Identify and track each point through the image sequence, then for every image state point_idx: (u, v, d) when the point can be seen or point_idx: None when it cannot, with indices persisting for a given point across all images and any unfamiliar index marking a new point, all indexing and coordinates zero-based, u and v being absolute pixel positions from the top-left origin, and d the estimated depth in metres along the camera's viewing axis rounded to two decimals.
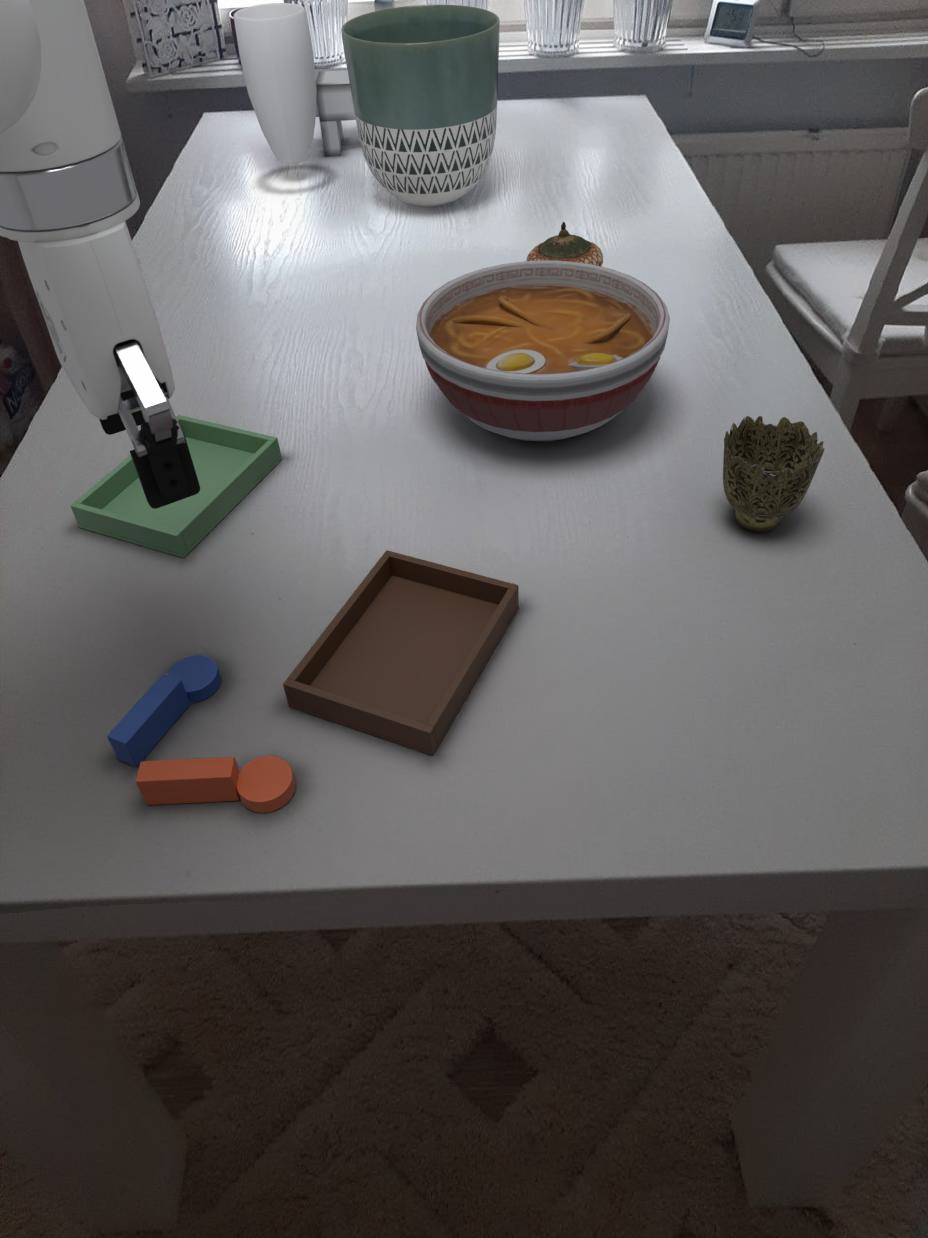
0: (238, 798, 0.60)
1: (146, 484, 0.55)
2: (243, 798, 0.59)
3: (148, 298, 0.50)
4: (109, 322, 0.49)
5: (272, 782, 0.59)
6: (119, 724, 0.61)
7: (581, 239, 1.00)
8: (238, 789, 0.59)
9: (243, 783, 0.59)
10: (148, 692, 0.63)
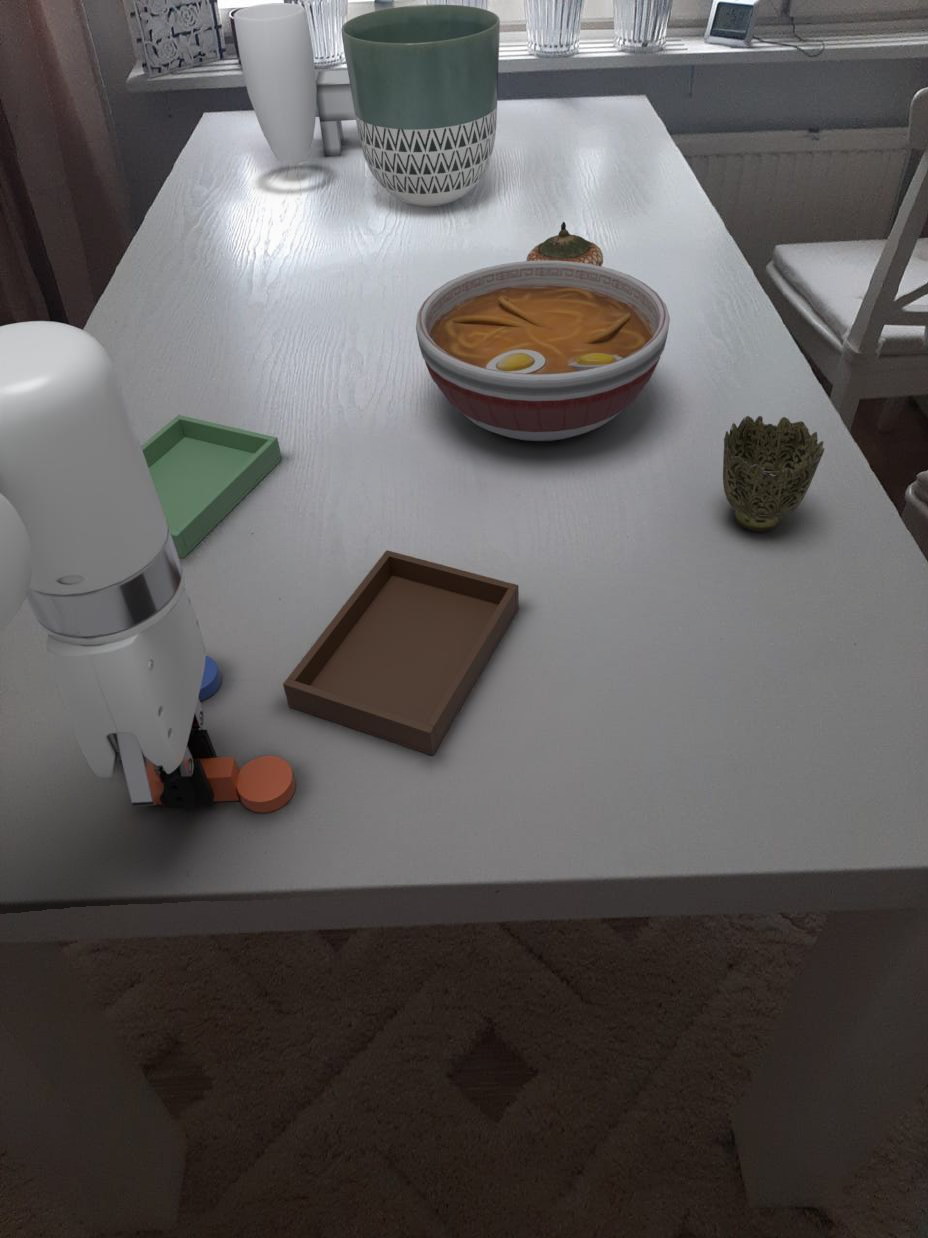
0: (238, 798, 0.60)
1: None
2: (243, 798, 0.59)
3: (149, 702, 0.47)
4: (103, 718, 0.47)
5: (272, 782, 0.59)
6: None
7: (581, 239, 1.00)
8: (238, 789, 0.59)
9: (243, 783, 0.59)
10: None
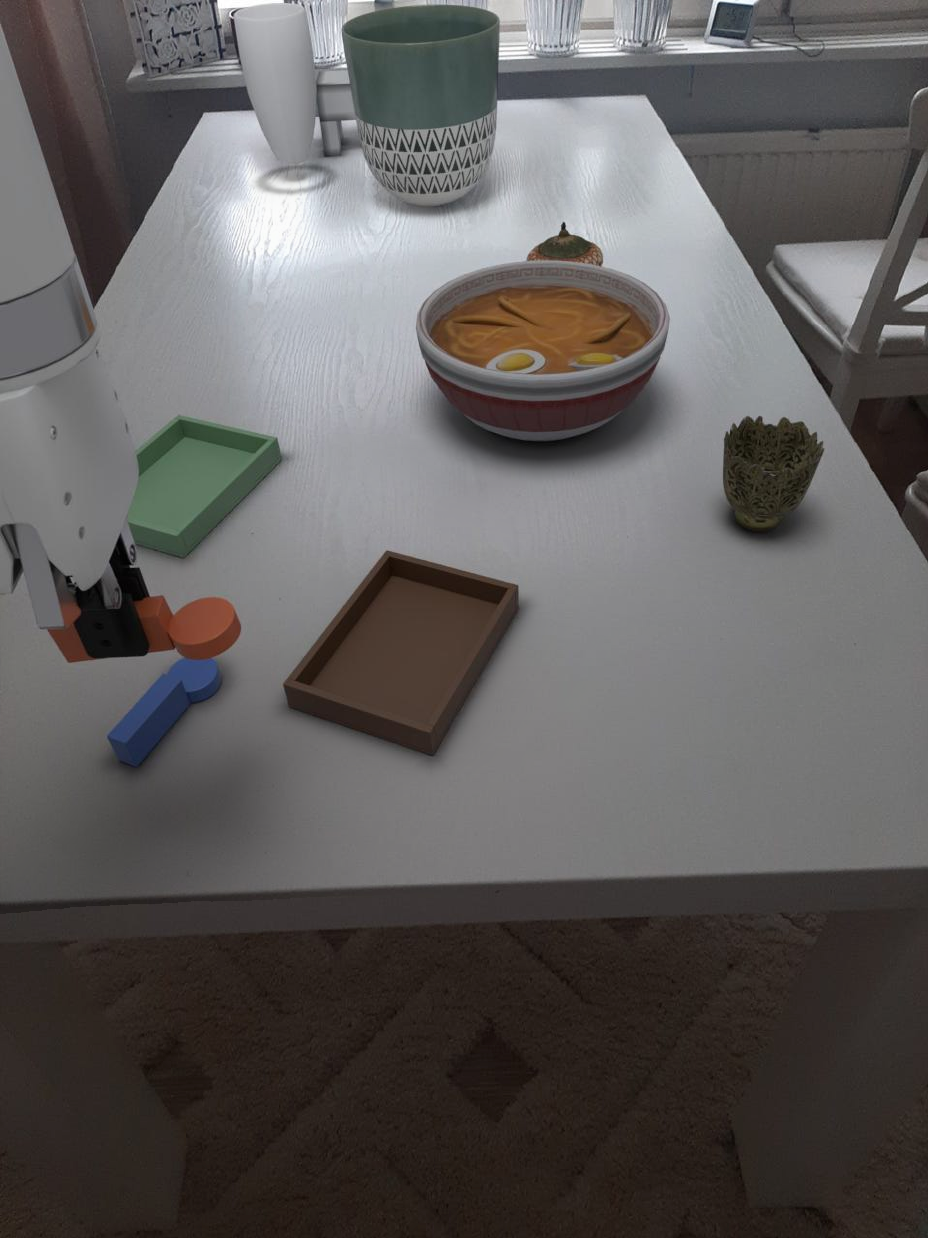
0: (173, 646, 0.50)
1: (82, 634, 0.48)
2: (175, 642, 0.49)
3: (52, 481, 0.38)
4: None
5: (209, 623, 0.49)
6: (119, 724, 0.61)
7: (581, 239, 1.00)
8: (170, 633, 0.49)
9: (176, 627, 0.49)
10: (148, 692, 0.63)
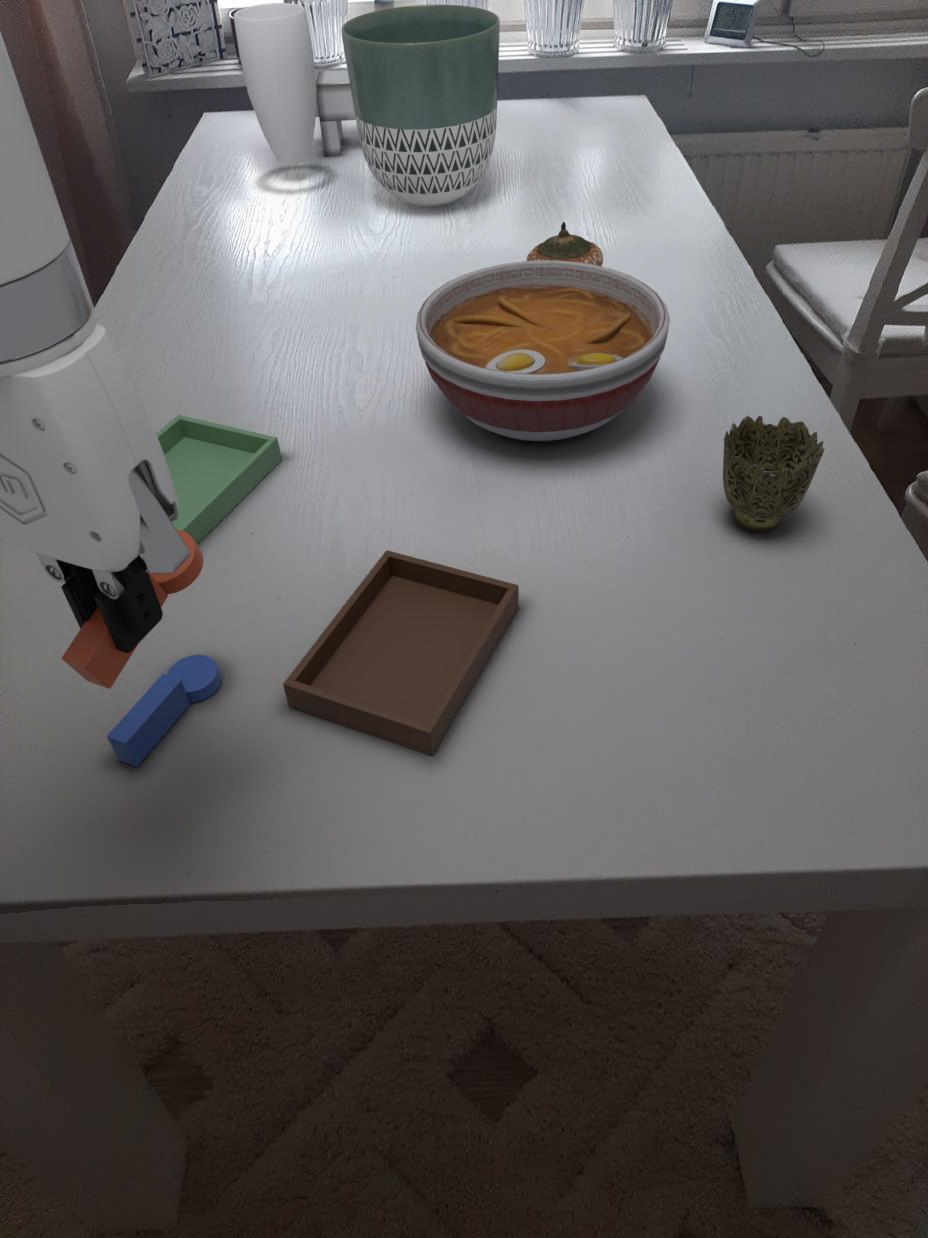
0: (166, 594, 0.51)
1: (118, 628, 0.47)
2: (174, 580, 0.50)
3: (144, 407, 0.40)
4: (121, 447, 0.39)
5: None
6: (119, 724, 0.61)
7: (581, 239, 1.00)
8: (160, 581, 0.50)
9: (156, 575, 0.51)
10: (148, 692, 0.63)
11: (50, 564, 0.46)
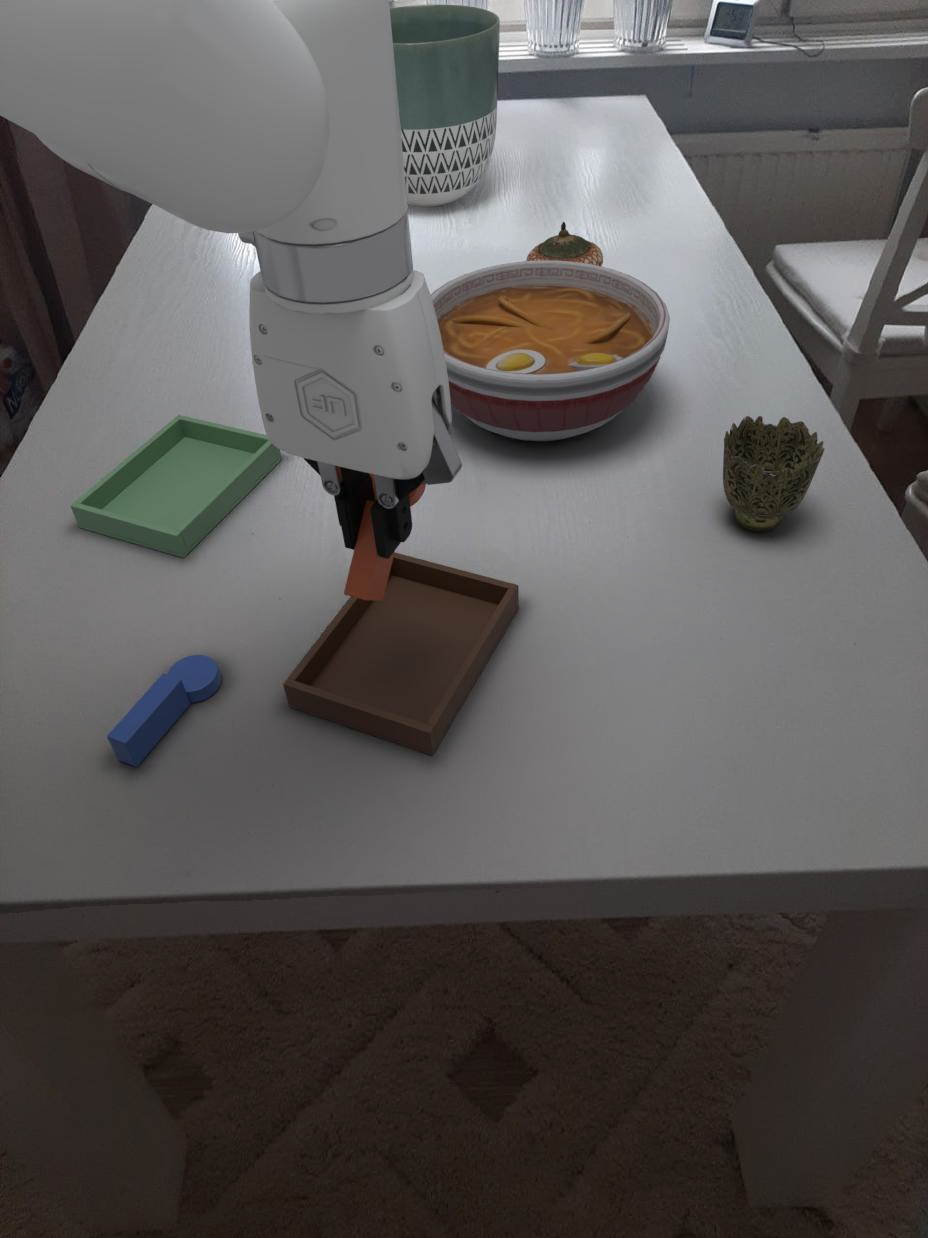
0: None
1: (385, 536, 0.56)
2: None
3: None
4: (430, 372, 0.48)
5: None
6: (119, 724, 0.61)
7: (581, 239, 1.00)
8: None
9: None
10: (148, 692, 0.63)
11: (330, 479, 0.55)
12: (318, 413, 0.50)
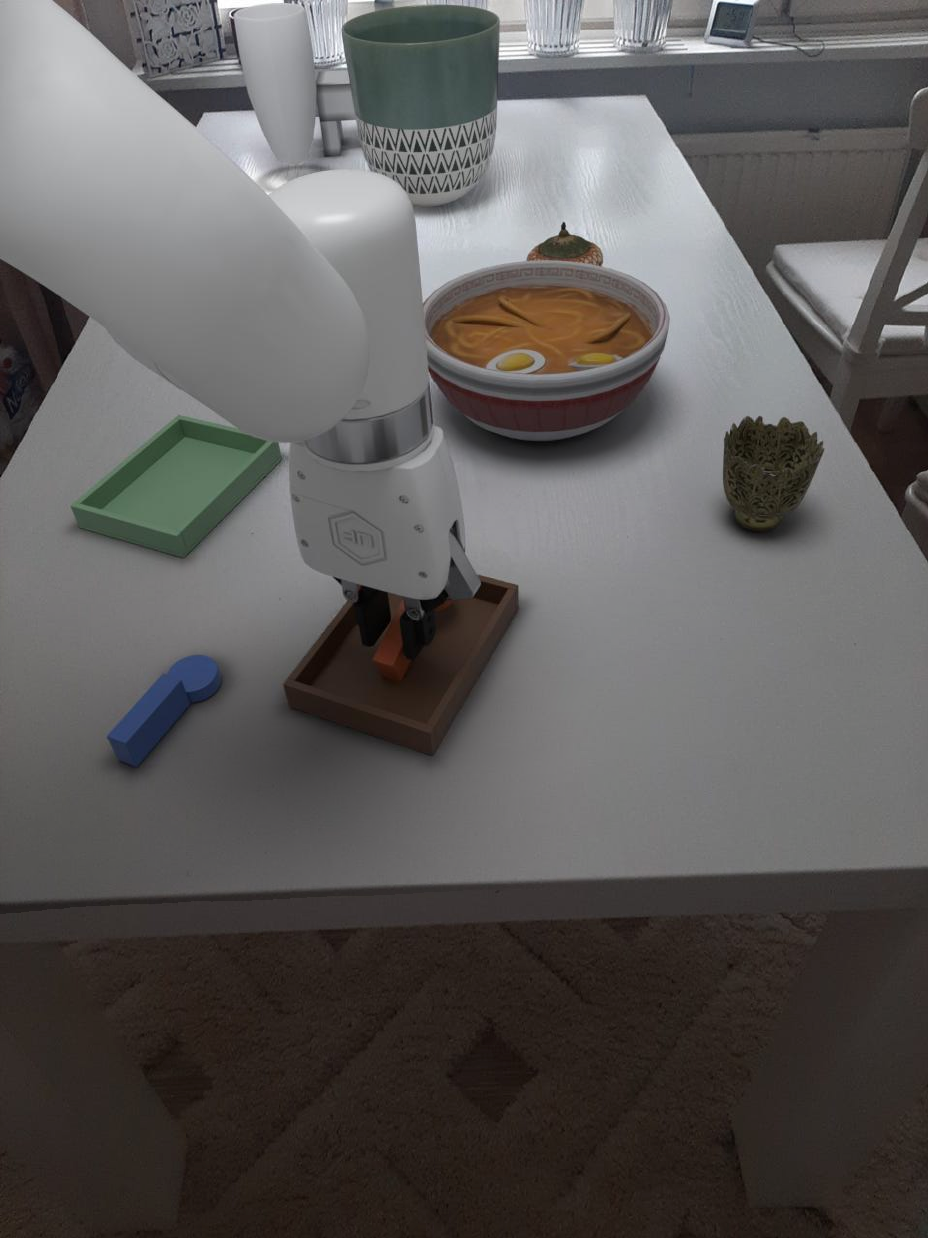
0: None
1: (412, 642, 0.63)
2: None
3: (456, 481, 0.56)
4: (448, 512, 0.55)
5: None
6: (119, 724, 0.61)
7: (581, 239, 1.00)
8: None
9: None
10: (148, 692, 0.63)
11: (351, 590, 0.62)
12: (348, 544, 0.57)
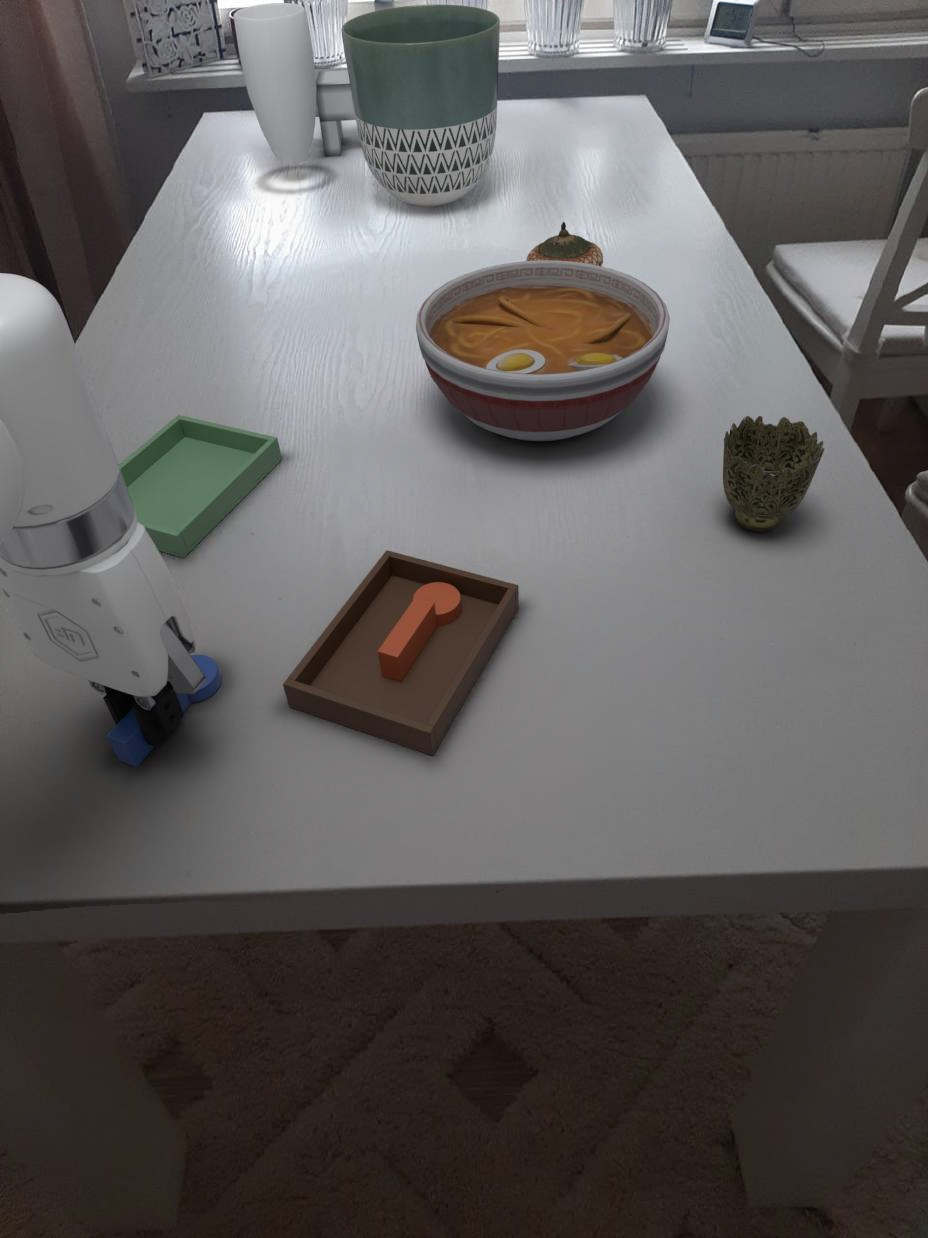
0: (436, 624, 0.70)
1: (150, 729, 0.61)
2: (446, 614, 0.69)
3: (171, 577, 0.54)
4: (155, 611, 0.53)
5: (444, 594, 0.71)
6: (119, 724, 0.61)
7: (581, 239, 1.00)
8: (437, 613, 0.69)
9: None
10: None
11: (95, 681, 0.60)
12: (63, 640, 0.55)
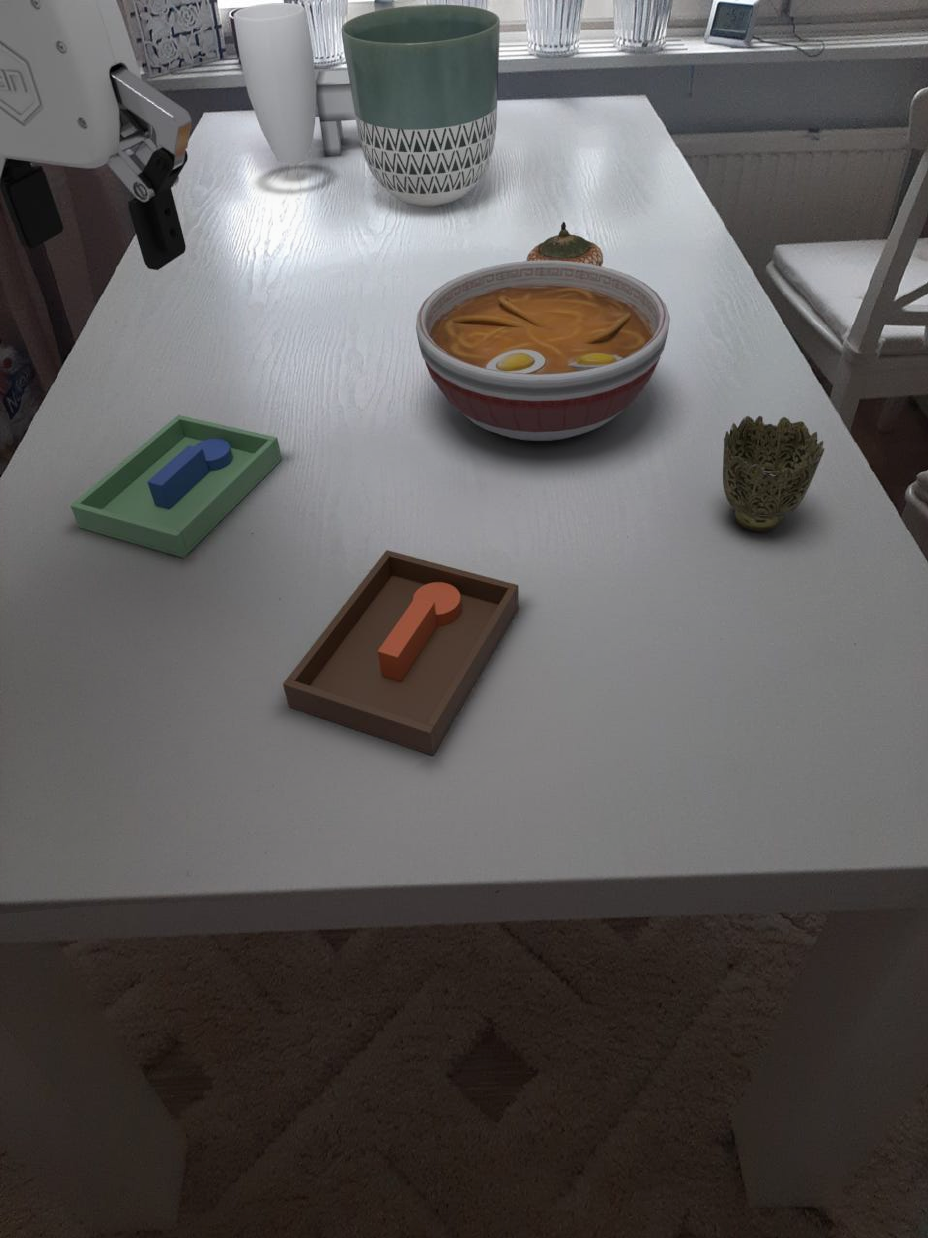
0: (436, 624, 0.70)
1: (148, 239, 0.54)
2: (446, 614, 0.69)
3: (122, 19, 0.49)
4: (103, 40, 0.48)
5: (444, 594, 0.71)
6: (156, 474, 0.81)
7: (581, 239, 1.00)
8: (437, 613, 0.69)
9: None
10: (177, 456, 0.83)
11: None
12: (4, 94, 0.50)
